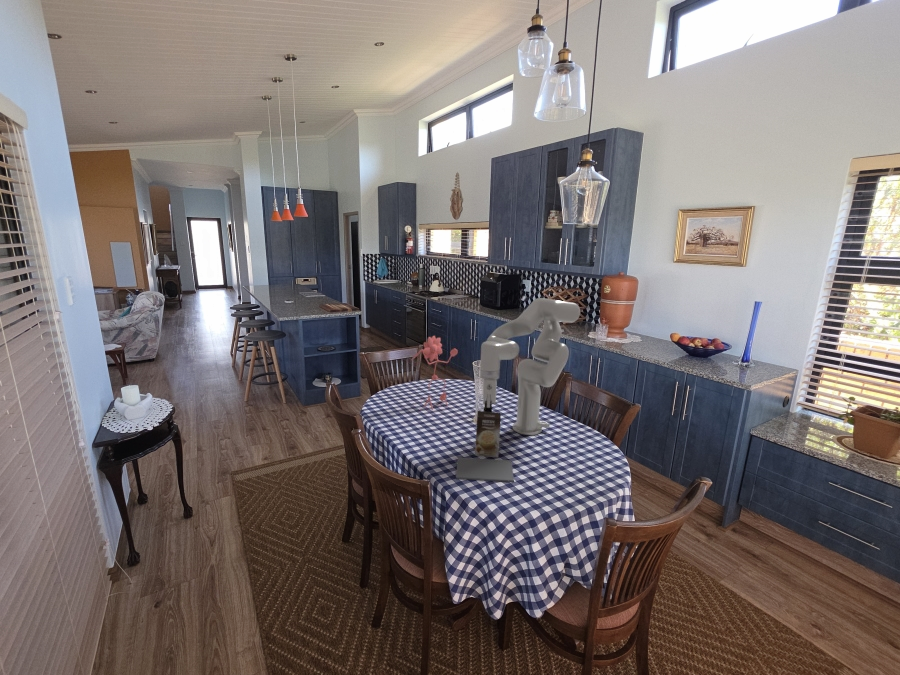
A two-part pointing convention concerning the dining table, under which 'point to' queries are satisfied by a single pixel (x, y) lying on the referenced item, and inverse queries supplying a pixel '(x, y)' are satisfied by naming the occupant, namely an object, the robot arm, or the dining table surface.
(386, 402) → the dining table surface
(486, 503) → the dining table surface
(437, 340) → the pink stick figure toy
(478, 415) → the coffee box
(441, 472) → the dining table surface
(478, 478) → the mat
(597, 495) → the dining table surface
